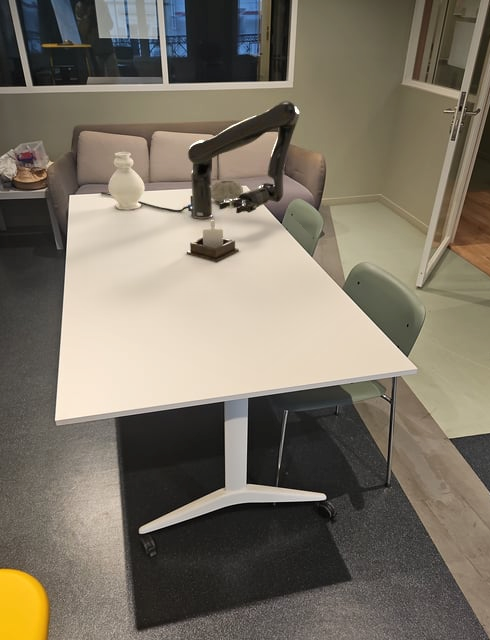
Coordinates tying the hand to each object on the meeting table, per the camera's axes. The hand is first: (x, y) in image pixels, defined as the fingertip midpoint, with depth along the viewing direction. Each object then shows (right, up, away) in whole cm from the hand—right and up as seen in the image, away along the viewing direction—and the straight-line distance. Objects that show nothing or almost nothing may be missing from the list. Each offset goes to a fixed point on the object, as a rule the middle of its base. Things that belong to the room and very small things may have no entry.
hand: (228, 208), depth 203 cm
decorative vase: (-52, +20, +54) cm, 78 cm away
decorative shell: (-3, +26, +64) cm, 69 cm away
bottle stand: (-6, -17, +1) cm, 19 cm away
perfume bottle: (-6, -17, +1) cm, 18 cm away
